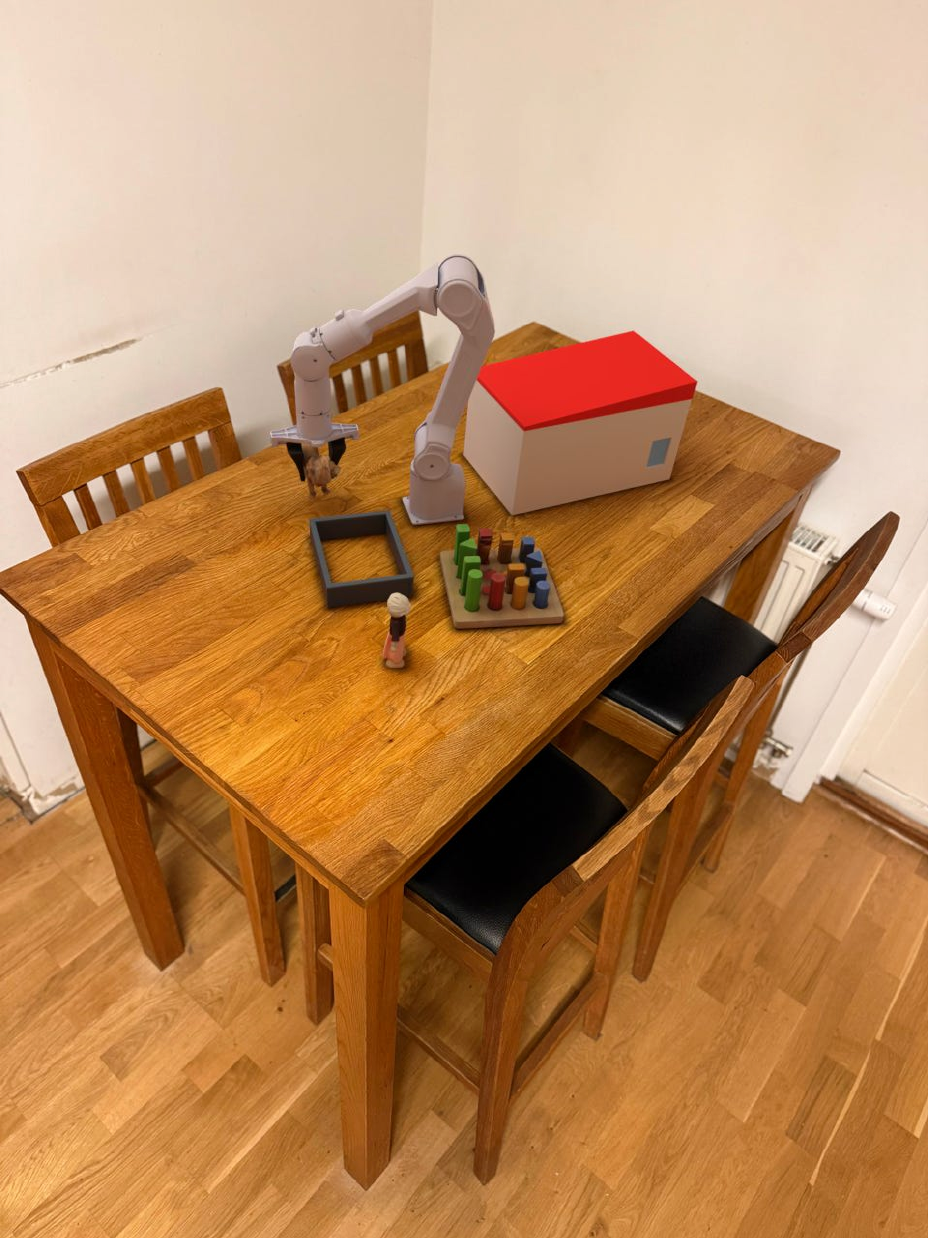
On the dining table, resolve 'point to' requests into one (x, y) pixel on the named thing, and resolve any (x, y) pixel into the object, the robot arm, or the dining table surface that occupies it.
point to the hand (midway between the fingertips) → (316, 476)
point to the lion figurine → (318, 469)
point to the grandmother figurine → (396, 630)
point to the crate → (368, 587)
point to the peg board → (498, 582)
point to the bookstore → (577, 421)
